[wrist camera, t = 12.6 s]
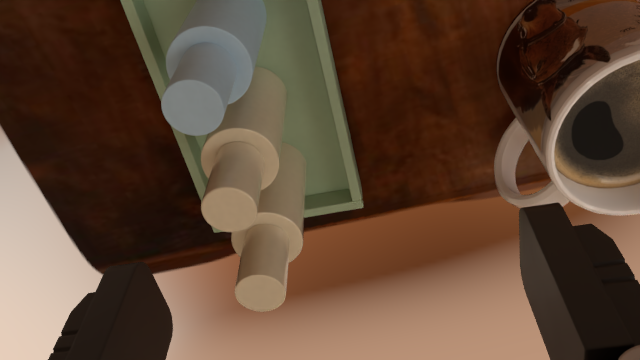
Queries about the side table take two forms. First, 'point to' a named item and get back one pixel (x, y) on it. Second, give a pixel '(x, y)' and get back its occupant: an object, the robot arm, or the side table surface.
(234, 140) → the cream bottle
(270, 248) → the cream bottle
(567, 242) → the robot arm
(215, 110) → the blue bottle
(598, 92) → the mug
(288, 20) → the tray
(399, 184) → the side table surface
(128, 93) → the side table surface
